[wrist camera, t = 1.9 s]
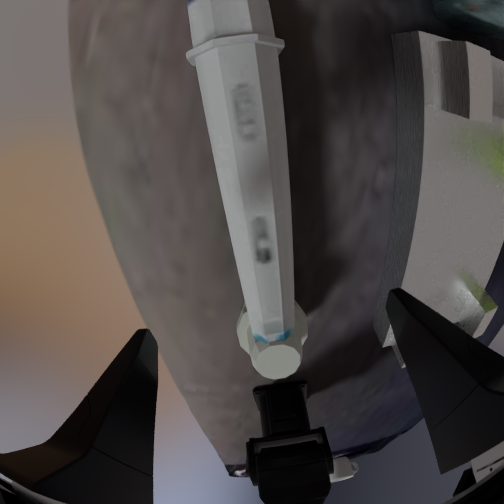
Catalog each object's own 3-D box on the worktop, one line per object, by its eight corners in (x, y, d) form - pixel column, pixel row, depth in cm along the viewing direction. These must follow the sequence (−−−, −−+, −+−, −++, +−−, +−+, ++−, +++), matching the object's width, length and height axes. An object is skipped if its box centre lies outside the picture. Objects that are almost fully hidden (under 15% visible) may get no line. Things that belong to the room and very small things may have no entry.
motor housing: (458, 298, 25) (492, 349, 18) (372, 324, 25) (400, 391, 19) (491, 6, 7) (562, 13, 1) (374, -41, 8) (449, -78, 1)
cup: (361, 451, 65) (366, 472, 59) (348, 458, 69) (353, 477, 63) (332, 457, 63) (336, 479, 57) (320, 463, 67) (324, 483, 61)
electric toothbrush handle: (286, -27, 7) (317, 393, 18) (269, 18, 13) (301, 333, 24) (163, -12, 7) (246, 403, 18) (187, 30, 13) (243, 342, 24)
